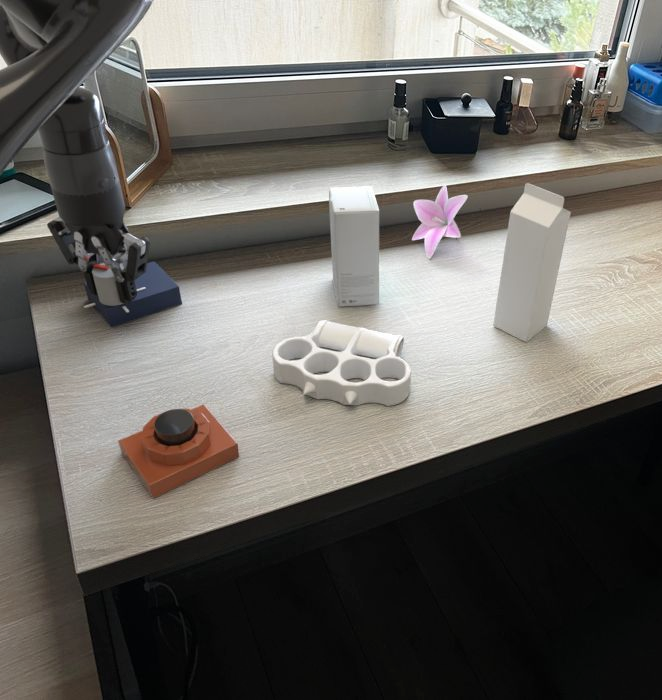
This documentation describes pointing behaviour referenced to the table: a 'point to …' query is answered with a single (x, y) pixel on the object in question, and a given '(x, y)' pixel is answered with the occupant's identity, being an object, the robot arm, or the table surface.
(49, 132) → the robot arm
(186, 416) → the dark grey short cylinder
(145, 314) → the dial panel
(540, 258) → the milk
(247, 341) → the table surface
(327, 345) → the white brass knuckles
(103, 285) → the dial
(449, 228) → the lily
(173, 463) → the button base
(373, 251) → the cosmetic box
